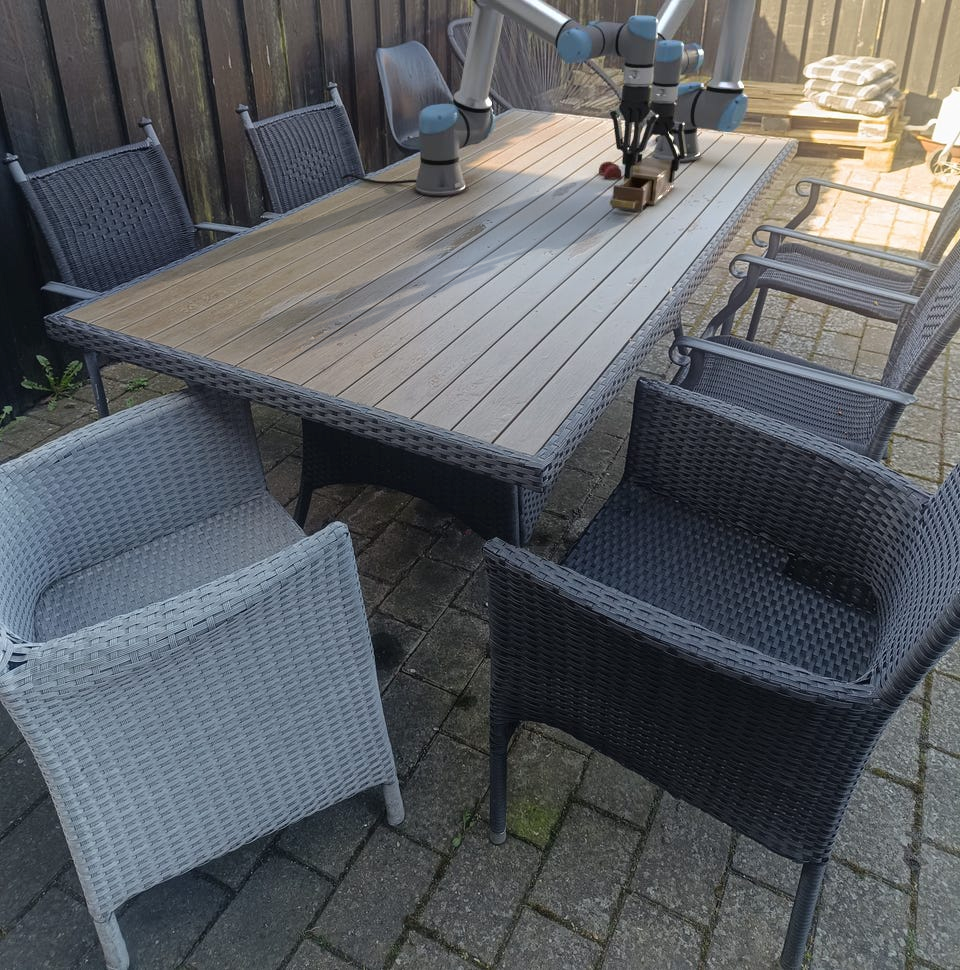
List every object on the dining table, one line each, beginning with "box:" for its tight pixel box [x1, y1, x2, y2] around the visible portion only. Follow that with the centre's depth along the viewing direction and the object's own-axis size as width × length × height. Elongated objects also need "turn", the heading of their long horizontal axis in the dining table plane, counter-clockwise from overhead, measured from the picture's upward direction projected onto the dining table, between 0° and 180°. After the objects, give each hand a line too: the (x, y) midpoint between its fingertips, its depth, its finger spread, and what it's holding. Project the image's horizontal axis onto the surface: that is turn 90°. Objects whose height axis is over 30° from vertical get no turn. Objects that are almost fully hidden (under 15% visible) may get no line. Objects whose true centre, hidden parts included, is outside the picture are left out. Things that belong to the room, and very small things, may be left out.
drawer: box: [609, 177, 654, 213], centre depth 242 cm, size 24×9×6 cm, turn 153°
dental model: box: [598, 161, 623, 179], centre depth 269 cm, size 6×4×8 cm
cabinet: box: [623, 156, 675, 206], centre depth 252 cm, size 20×10×8 cm, turn 153°
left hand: (628, 177), depth 232 cm, fingers closed
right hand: (654, 179), depth 257 cm, fingers closed on cabinet, 10 cm apart
